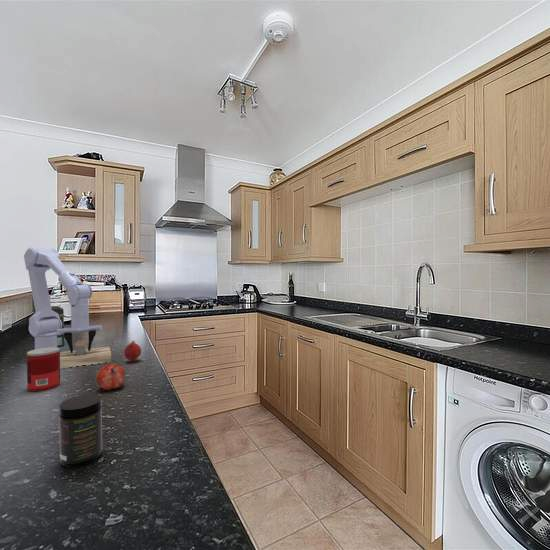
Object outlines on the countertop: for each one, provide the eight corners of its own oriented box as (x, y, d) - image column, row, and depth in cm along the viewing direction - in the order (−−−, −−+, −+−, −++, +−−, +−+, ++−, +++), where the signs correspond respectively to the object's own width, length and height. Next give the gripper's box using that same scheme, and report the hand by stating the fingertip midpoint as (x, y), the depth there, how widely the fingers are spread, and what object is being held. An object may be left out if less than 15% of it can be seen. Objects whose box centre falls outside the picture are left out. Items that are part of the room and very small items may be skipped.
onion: (134, 364, 115) (134, 342, 115) (120, 363, 116) (120, 342, 116) (144, 359, 121) (143, 339, 121) (131, 359, 122) (130, 338, 122)
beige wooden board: (50, 361, 120) (50, 353, 120) (109, 353, 130) (108, 346, 130) (46, 371, 108) (46, 362, 108) (111, 361, 118) (111, 354, 118)
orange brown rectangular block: (76, 360, 120) (75, 341, 120) (85, 358, 122) (85, 340, 122) (75, 363, 116) (75, 343, 116) (85, 362, 117) (85, 342, 117)
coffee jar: (43, 345, 146) (42, 306, 146) (63, 342, 151) (62, 304, 151) (44, 349, 138) (43, 307, 138) (65, 346, 143) (64, 306, 143)
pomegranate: (94, 395, 91) (93, 384, 84) (99, 371, 96) (98, 358, 89) (122, 394, 94) (123, 382, 87) (125, 371, 99) (126, 358, 92)
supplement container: (110, 452, 59) (110, 397, 59) (74, 473, 53) (73, 412, 53) (88, 444, 62) (87, 392, 62) (51, 463, 56) (50, 405, 55)
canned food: (66, 383, 95) (65, 348, 95) (39, 393, 88) (38, 354, 88) (48, 380, 98) (48, 346, 98) (20, 390, 90) (20, 352, 90)
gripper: (56, 319, 111) (56, 356, 112) (102, 315, 119) (102, 350, 119) (57, 316, 117) (58, 352, 118) (101, 313, 125) (101, 347, 125)
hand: (80, 351), depth 119 cm, fingers open, 5 cm apart
